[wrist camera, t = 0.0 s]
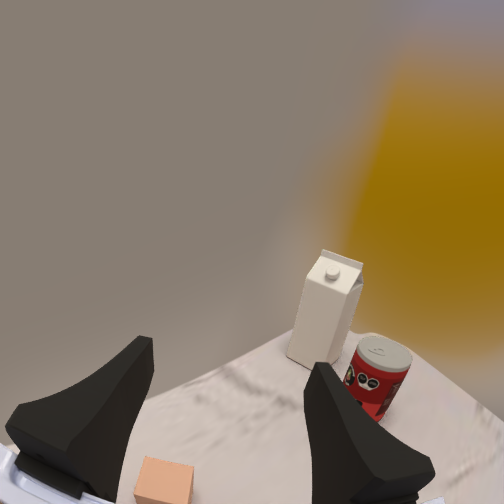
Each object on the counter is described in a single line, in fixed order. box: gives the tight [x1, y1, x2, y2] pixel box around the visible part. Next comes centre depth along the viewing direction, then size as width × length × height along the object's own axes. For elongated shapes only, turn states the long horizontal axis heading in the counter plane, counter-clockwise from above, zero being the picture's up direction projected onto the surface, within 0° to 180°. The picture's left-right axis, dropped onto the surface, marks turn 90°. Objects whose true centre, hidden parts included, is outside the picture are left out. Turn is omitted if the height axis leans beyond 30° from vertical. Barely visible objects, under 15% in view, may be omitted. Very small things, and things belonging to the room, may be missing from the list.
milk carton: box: [287, 249, 364, 370], centre depth 47 cm, size 7×7×19 cm
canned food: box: [343, 336, 412, 422], centre depth 36 cm, size 8×8×11 cm
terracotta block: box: [133, 456, 194, 504], centre depth 20 cm, size 4×4×6 cm
